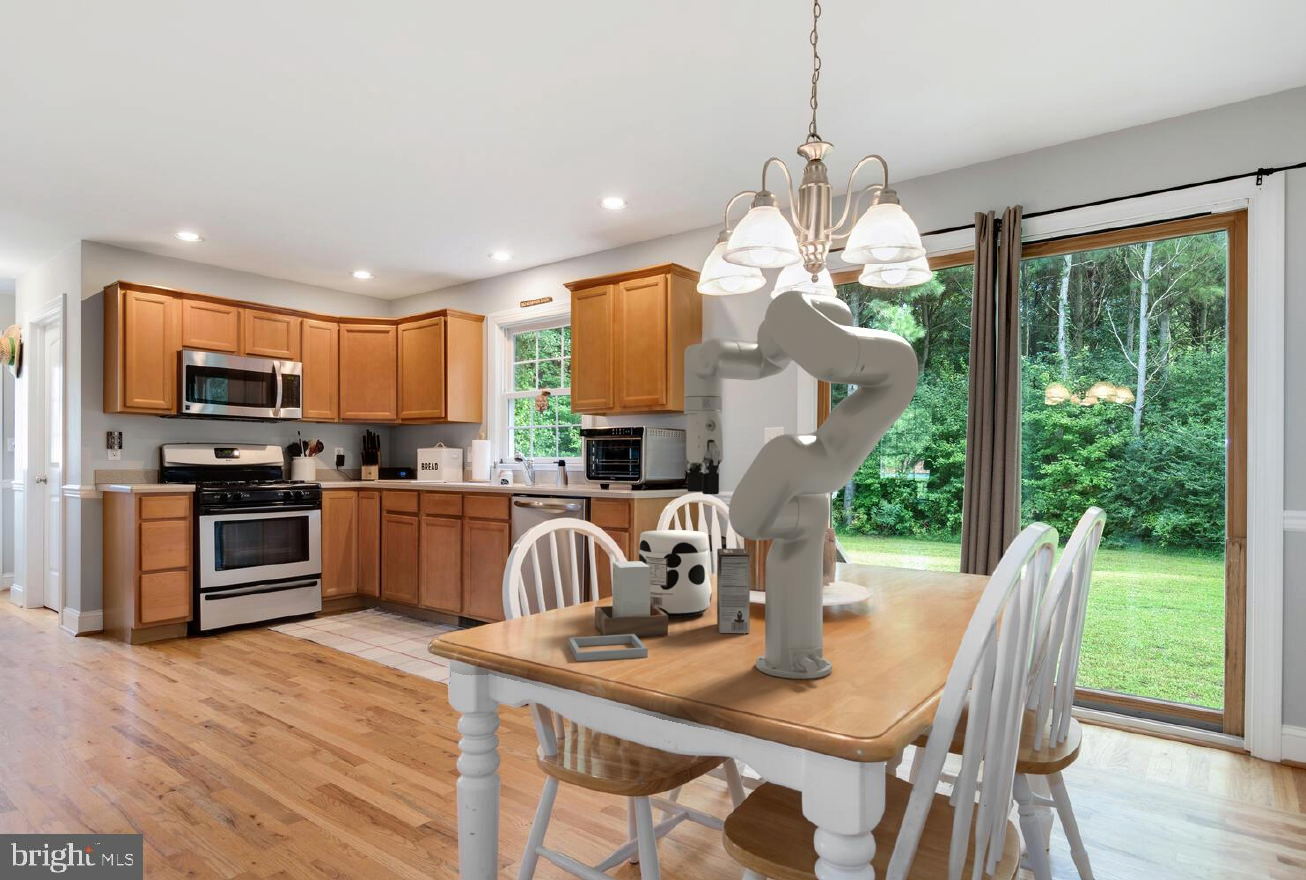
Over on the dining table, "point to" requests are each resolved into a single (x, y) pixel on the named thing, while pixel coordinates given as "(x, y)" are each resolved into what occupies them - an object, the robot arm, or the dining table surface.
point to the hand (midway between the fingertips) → (702, 492)
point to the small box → (631, 589)
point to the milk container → (677, 570)
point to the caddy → (632, 623)
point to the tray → (580, 655)
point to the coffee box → (733, 590)
